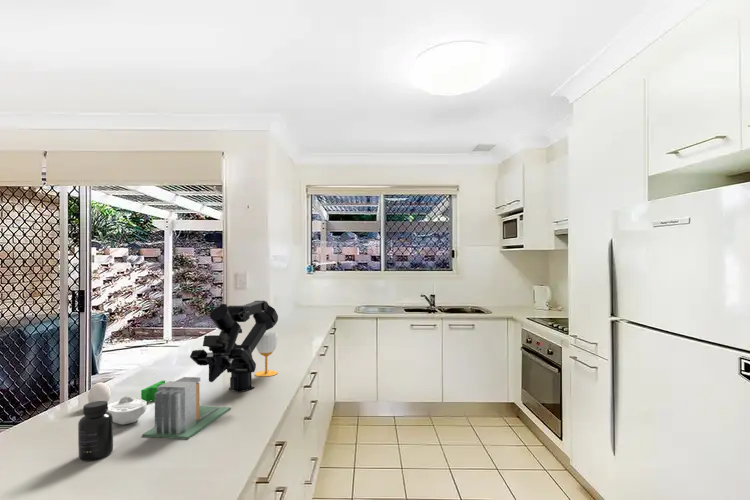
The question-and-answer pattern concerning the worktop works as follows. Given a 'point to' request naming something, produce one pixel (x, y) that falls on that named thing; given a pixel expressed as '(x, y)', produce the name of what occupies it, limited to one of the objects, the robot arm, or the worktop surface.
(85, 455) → the supplement bottle
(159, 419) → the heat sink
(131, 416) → the cell model
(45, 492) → the worktop surface
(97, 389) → the egg
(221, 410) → the board
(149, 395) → the pipe clamp
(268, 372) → the cup
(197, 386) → the orange block
